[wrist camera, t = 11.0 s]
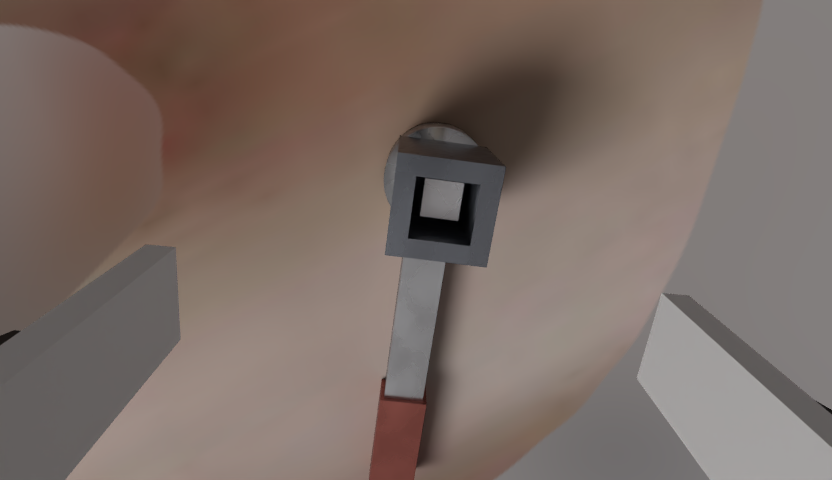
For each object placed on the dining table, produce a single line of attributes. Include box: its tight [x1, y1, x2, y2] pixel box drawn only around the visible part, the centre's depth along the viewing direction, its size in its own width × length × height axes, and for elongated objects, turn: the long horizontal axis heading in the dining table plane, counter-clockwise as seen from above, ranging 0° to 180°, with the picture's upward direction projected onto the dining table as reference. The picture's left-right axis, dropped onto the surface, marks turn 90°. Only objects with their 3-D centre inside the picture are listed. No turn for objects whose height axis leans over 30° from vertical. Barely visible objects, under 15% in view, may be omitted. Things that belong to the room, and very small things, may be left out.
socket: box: [385, 135, 506, 267], centre depth 30 cm, size 6×6×7 cm
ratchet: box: [369, 122, 478, 480], centre depth 36 cm, size 30×7×8 cm, turn 172°
